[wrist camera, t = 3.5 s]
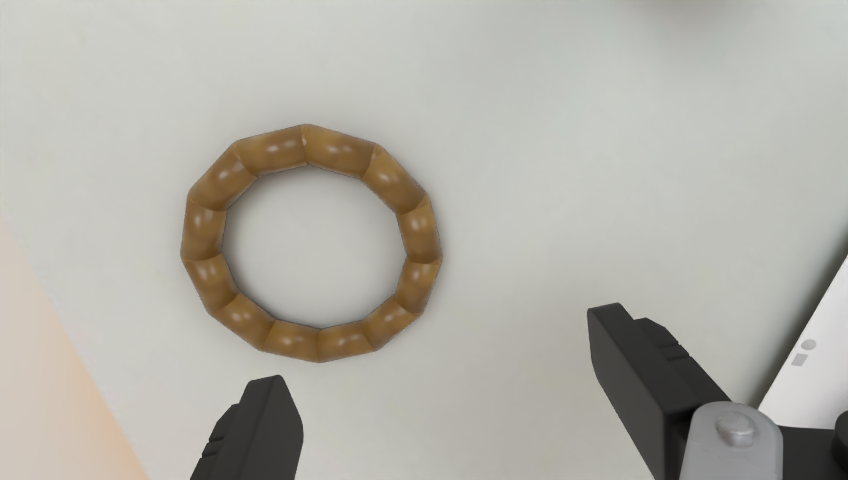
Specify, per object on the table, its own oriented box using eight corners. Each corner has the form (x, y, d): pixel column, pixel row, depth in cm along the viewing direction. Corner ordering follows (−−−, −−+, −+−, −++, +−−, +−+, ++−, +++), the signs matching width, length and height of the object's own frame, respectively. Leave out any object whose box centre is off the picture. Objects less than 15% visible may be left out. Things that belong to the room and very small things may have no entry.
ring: (246, 366, 24) (236, 388, 23) (148, 159, 20) (128, 169, 18) (458, 320, 24) (462, 339, 22) (406, 97, 19) (407, 102, 18)
